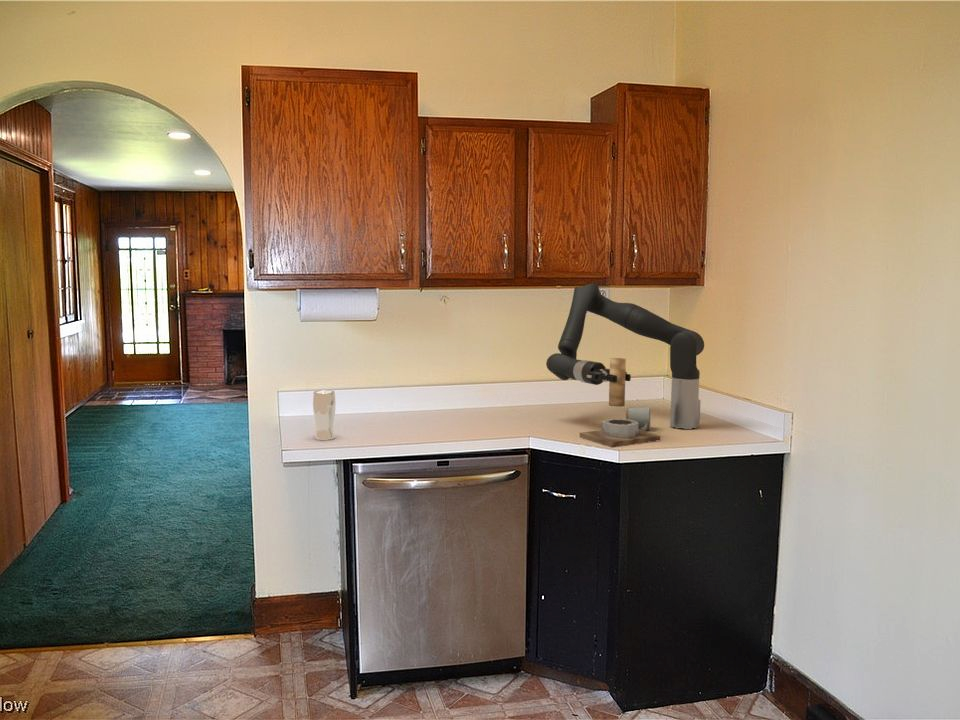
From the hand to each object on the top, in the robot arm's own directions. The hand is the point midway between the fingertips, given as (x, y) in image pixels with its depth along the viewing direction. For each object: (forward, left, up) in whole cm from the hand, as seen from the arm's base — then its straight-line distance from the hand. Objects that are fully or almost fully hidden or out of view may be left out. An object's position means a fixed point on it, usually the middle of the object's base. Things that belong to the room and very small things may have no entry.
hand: (622, 378), depth 251 cm
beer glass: (+82, -47, -20) cm, 97 cm away
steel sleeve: (-1, -2, -18) cm, 18 cm away
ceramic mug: (-16, -9, -20) cm, 27 cm away
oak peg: (0, -3, -9) cm, 9 cm away
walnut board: (-1, -2, -20) cm, 20 cm away
